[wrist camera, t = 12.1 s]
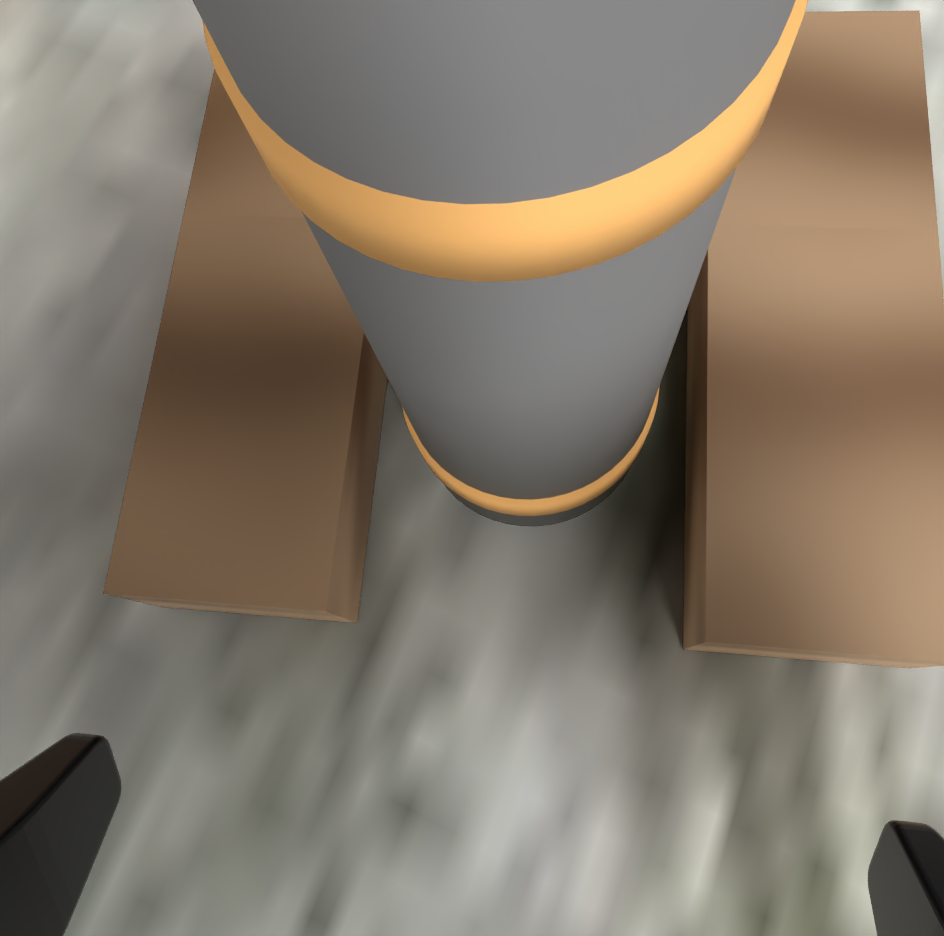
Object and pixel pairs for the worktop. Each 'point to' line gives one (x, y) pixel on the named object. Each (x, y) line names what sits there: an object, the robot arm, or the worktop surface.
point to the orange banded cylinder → (510, 205)
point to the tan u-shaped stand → (708, 385)
